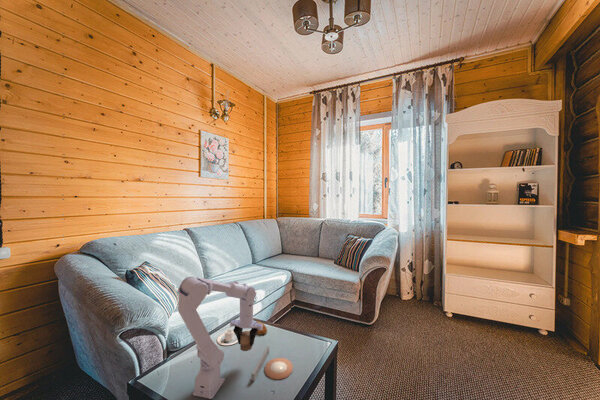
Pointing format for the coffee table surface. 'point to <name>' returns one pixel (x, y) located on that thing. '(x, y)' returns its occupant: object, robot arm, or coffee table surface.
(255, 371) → the acrylic wall
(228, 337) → the candle holder
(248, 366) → the coffee table surface
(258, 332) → the pastry
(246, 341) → the walnut cylinder
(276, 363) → the resting plate
